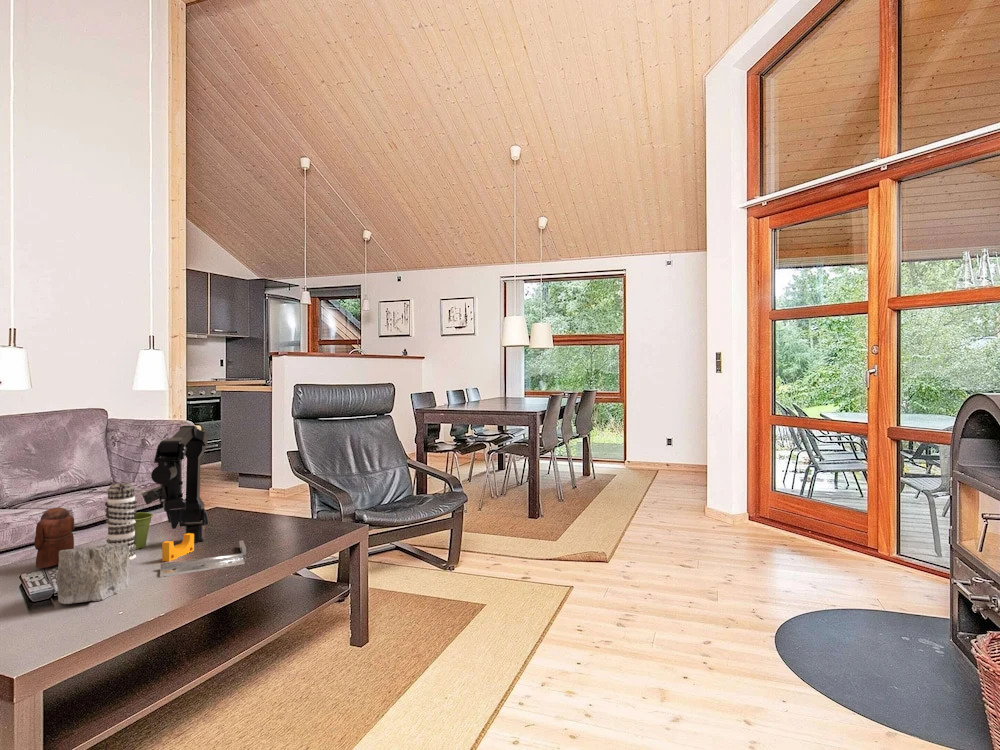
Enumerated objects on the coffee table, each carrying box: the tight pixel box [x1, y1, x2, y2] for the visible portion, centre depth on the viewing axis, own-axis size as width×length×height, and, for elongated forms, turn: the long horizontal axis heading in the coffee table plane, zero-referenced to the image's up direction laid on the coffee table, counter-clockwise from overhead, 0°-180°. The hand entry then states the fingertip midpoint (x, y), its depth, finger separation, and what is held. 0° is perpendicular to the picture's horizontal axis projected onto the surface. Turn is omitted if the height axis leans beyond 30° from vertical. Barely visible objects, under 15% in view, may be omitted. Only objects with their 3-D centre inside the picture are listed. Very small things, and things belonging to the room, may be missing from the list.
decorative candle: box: [104, 482, 138, 561], centre depth 206 cm, size 9×9×25 cm
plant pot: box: [134, 512, 154, 551], centre depth 219 cm, size 12×12×11 cm
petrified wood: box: [56, 543, 131, 605], centre depth 174 cm, size 19×17×15 cm
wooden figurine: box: [34, 507, 76, 569], centre depth 201 cm, size 12×6×18 cm, turn 176°
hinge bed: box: [159, 539, 247, 578], centre depth 202 cm, size 20×25×3 cm
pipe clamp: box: [161, 533, 195, 562], centre depth 208 cm, size 12×4×6 cm, turn 169°
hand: (172, 525), depth 202 cm, fingers open, 9 cm apart
